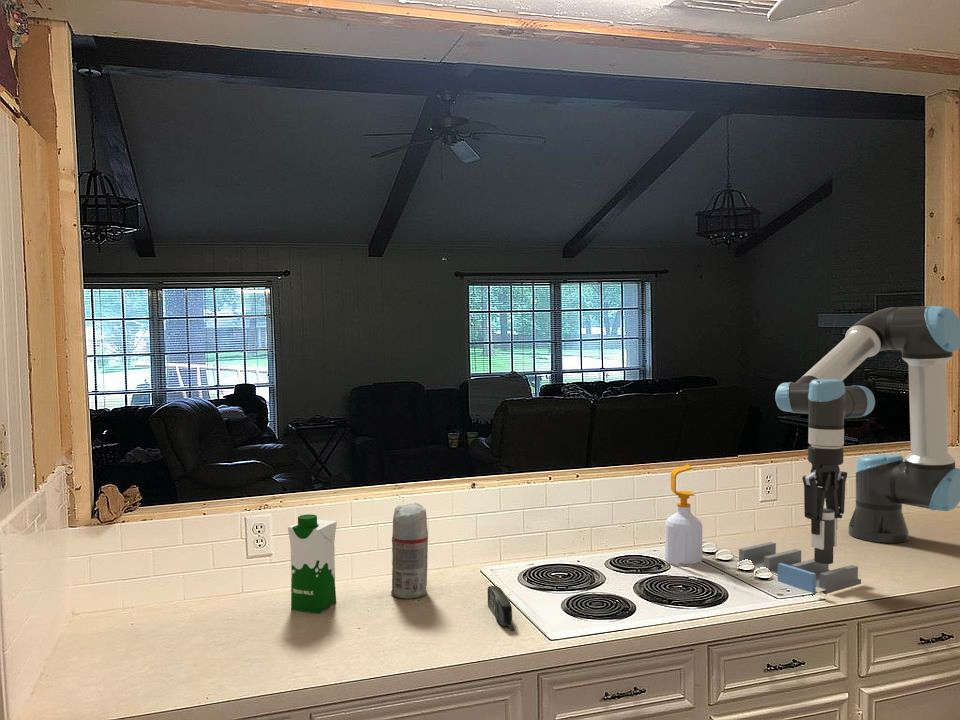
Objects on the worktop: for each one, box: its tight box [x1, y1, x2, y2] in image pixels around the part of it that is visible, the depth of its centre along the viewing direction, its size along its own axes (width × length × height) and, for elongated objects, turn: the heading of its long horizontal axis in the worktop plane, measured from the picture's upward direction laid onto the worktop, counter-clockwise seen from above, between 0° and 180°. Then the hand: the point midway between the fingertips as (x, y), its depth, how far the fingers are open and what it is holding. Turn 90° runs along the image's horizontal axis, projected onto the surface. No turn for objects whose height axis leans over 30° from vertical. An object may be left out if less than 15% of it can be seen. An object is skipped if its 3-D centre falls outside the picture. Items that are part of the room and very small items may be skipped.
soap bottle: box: [664, 464, 703, 568], centre depth 193 cm, size 9×9×25 cm
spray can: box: [390, 502, 429, 600], centre depth 172 cm, size 8×8×20 cm
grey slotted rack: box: [736, 541, 862, 595], centre depth 184 cm, size 13×25×4 cm, turn 31°
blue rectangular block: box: [777, 563, 817, 597], centre depth 172 cm, size 1×9×5 cm, turn 31°
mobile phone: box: [487, 585, 515, 631], centre depth 157 cm, size 5×3×15 cm
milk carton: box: [287, 513, 338, 614], centre depth 164 cm, size 9×9×20 cm
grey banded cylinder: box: [813, 507, 834, 565], centre depth 177 cm, size 4×4×12 cm
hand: (824, 546), depth 177 cm, fingers closed on grey banded cylinder, 4 cm apart
